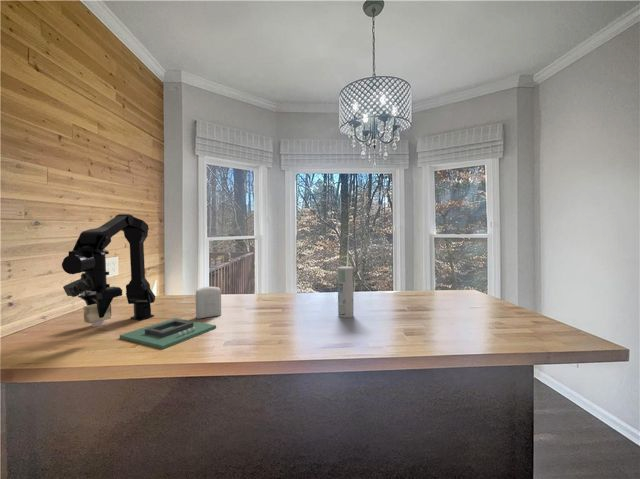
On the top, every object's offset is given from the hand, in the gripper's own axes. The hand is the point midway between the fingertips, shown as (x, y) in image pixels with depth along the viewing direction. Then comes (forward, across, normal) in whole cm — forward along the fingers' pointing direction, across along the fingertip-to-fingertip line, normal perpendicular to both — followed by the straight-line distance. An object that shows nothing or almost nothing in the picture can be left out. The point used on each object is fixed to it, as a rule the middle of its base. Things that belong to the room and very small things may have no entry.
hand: (97, 316), depth 106 cm
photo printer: (+8, +11, +37) cm, 40 cm away
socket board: (+8, +14, +16) cm, 23 cm away
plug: (+1, 0, 0) cm, 1 cm away
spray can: (+8, +62, +62) cm, 88 cm away
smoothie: (+8, -19, +10) cm, 23 cm away
